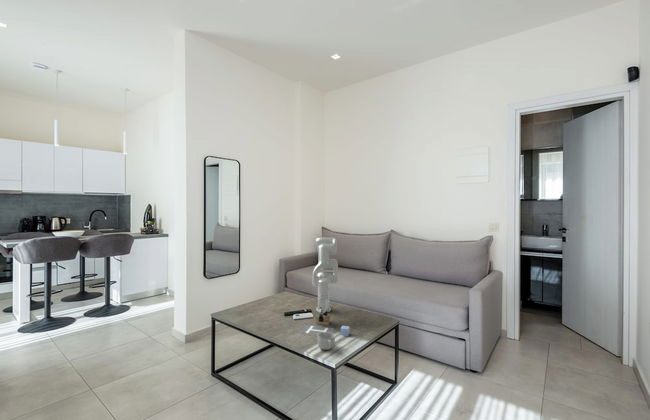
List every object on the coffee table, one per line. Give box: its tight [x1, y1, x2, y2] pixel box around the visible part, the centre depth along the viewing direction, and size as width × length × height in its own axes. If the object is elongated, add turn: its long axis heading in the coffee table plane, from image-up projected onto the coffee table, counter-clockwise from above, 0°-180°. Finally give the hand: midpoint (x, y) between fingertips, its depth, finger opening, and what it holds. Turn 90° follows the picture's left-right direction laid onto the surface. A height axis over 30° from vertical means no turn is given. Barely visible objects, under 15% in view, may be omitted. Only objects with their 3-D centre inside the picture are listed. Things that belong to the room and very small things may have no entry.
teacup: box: [317, 332, 336, 351], centre depth 189 cm, size 14×11×8 cm
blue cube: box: [340, 325, 350, 337], centre depth 210 cm, size 5×5×5 cm
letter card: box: [299, 324, 335, 336], centre depth 216 cm, size 14×21×1 cm, turn 73°
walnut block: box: [315, 314, 331, 326], centre depth 229 cm, size 5×9×5 cm, turn 73°
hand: (323, 319), depth 229 cm, fingers open, 9 cm apart
